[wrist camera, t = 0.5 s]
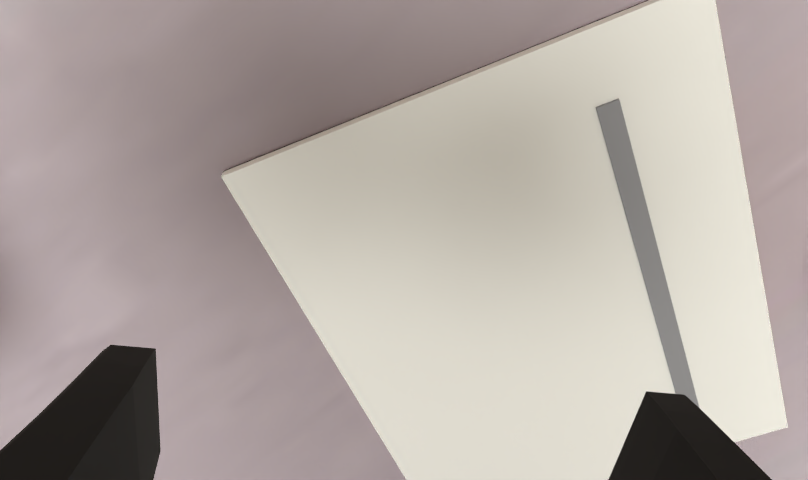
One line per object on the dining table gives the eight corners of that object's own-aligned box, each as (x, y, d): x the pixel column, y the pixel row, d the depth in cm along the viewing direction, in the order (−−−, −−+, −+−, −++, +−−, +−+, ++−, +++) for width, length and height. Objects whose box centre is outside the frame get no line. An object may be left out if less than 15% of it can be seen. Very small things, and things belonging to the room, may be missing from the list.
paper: (783, 420, 25) (789, 429, 24) (435, 521, 27) (436, 530, 27) (706, -23, 17) (713, -20, 16) (223, 171, 19) (220, 178, 19)
